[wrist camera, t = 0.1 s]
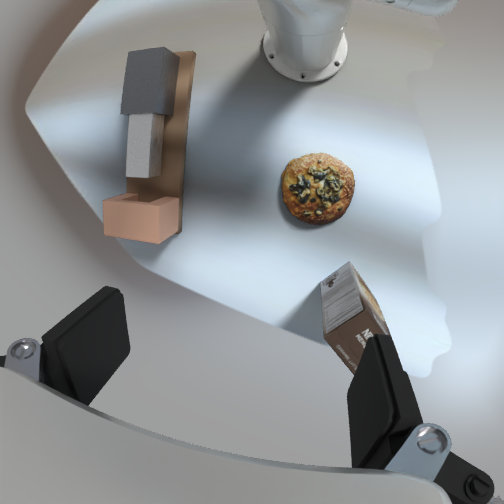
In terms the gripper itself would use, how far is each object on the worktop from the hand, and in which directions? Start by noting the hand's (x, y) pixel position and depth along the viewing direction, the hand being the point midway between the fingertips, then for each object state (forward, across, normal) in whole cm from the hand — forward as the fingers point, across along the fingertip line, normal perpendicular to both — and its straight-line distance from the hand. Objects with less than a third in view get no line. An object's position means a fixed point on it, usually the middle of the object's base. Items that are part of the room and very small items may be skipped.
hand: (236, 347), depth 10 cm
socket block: (+35, +22, +5) cm, 42 cm away
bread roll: (+37, -4, -2) cm, 37 cm away
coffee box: (+37, -12, +14) cm, 41 cm away
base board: (+37, +22, -7) cm, 43 cm away
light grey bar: (+34, +22, -11) cm, 42 cm away
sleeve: (+35, +22, -16) cm, 44 cm away
